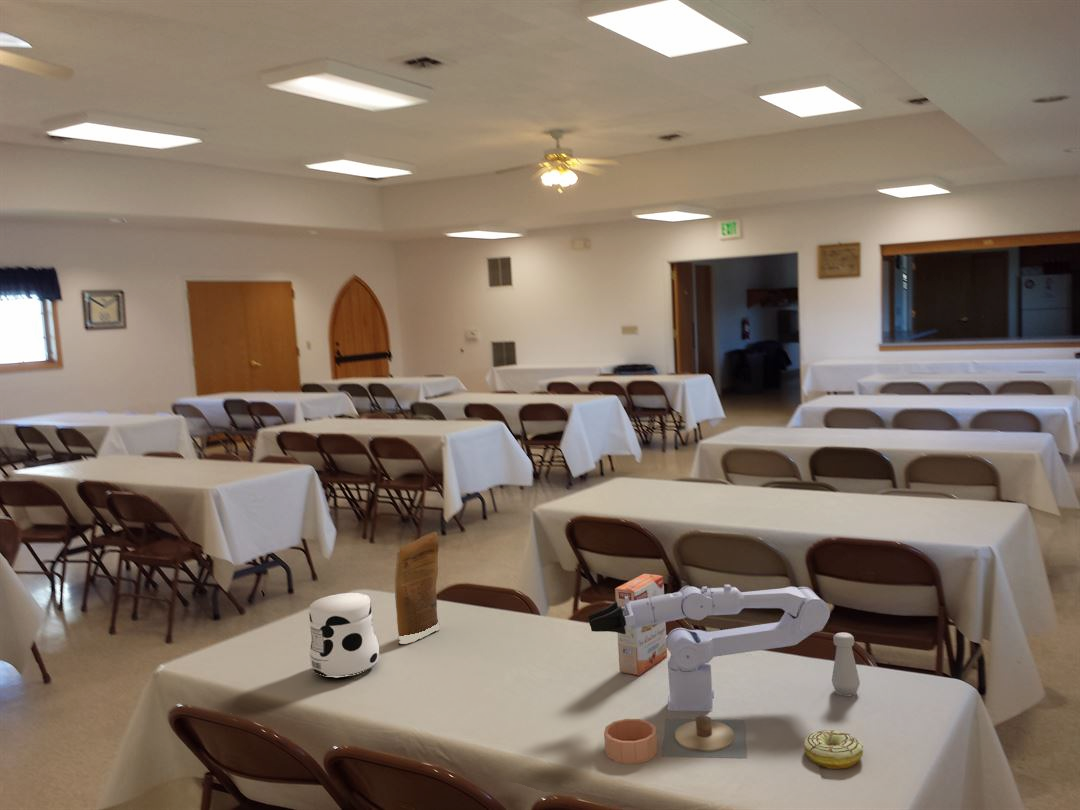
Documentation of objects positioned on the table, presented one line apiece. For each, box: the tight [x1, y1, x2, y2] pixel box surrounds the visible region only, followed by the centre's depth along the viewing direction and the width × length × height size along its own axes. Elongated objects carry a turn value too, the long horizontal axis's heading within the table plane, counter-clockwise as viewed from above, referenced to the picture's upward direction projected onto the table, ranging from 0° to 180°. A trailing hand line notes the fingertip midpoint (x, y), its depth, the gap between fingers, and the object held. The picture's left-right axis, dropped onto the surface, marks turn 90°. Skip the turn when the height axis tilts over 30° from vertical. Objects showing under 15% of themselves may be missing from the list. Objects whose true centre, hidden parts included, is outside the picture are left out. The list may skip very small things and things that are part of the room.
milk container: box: [308, 592, 380, 676], centre depth 231 cm, size 17×17×18 cm
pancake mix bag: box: [394, 531, 440, 637], centre depth 251 cm, size 7×19×28 cm, turn 144°
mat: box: [661, 718, 748, 759], centre depth 180 cm, size 16×16×1 cm
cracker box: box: [614, 573, 668, 677], centre depth 219 cm, size 14×6×21 cm, turn 143°
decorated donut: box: [803, 729, 864, 770], centre depth 169 cm, size 10×11×4 cm
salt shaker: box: [831, 632, 861, 696], centre depth 196 cm, size 6×6×13 cm
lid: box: [675, 715, 734, 751], centre depth 180 cm, size 12×12×4 cm
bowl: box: [603, 718, 658, 764], centre depth 177 cm, size 10×10×4 cm
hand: (589, 623), depth 194 cm, fingers open, 7 cm apart
